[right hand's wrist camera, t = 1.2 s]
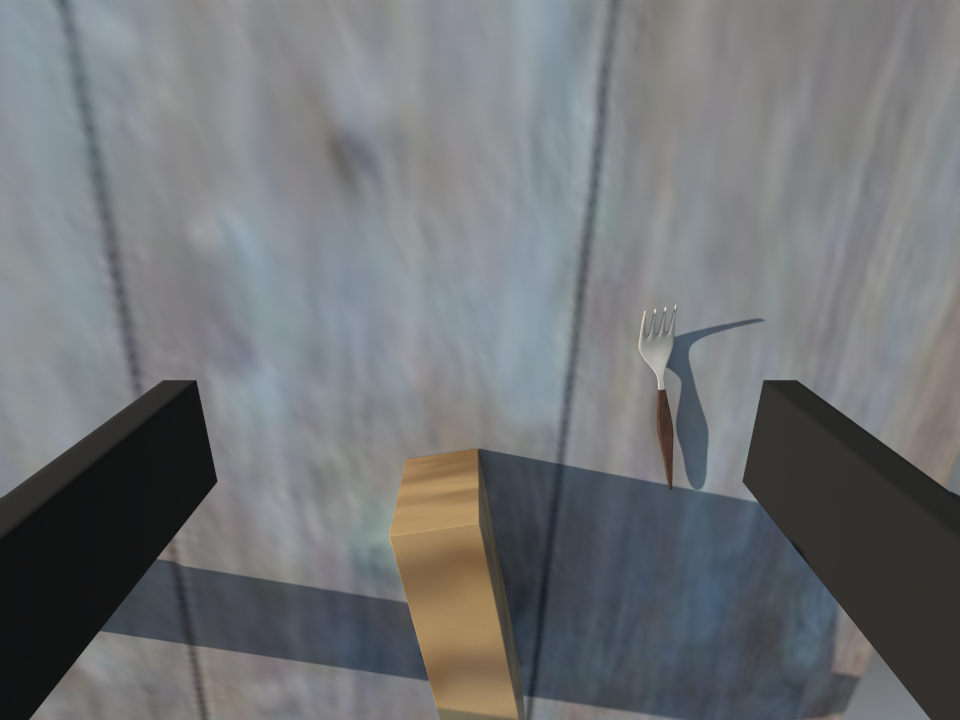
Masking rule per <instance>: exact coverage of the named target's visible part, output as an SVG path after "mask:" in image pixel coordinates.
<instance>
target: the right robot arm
mask: <svg viewBox="0 0 960 720" xmlns="http://www.w3.org/2000/svg"><path fill="white" fill-rule="evenodd" d="M216 483H217V477H216V472H215V468H214V463H213V458H212V453H211V448H210V444H209V439H208V434H207V429H206V424H205V419H204V415H203V410H202V405H201V400H200V395H199V391H198V386H197V381H196V380H163V381H162V382H160V383H159V384H158V385H156V386H155V387H153V388H152V389H151V390H149V391H148V392H147V393H145V394H144V395H142V396H141V397H140V398H138V399H137V400H136V401H134V402H133V403H131V404H130V405H129V406H127V407H126V408H125V409H123V410H122V411H120V412H119V413H118V414H116V415H115V416H114V417H112V418H111V419H110V420H108V421H107V422H105V423H104V424H103V425H101V426H100V427H99V428H97V429H96V430H94V431H93V432H92V433H90V434H89V435H88V436H86V437H85V438H83V439H82V440H81V441H79V442H78V443H77V444H75V445H74V446H72V447H71V448H70V449H68V450H67V451H66V452H64V453H63V454H61V455H60V456H59V457H57V458H56V459H55V460H53V461H52V462H50V463H49V464H48V465H46V466H45V467H44V468H42V469H41V470H39V471H38V472H37V473H35V474H34V475H33V476H31V477H30V478H28V479H27V480H26V481H24V482H23V483H22V484H20V485H19V486H18V487H16V488H15V489H13V490H12V491H11V492H9V493H8V494H7V495H5V496H4V497H2V498H0V720H29V719H30V718H31V717H32V715H33V714H34V713H35V712H36V710H37V709H38V708H39V707H40V705H41V704H42V703H43V701H44V700H45V699H46V698H47V696H48V695H49V694H50V693H51V691H52V690H53V689H54V688H55V686H56V685H57V684H58V683H59V681H60V680H61V679H62V677H63V676H64V675H65V674H66V672H67V671H68V670H69V669H70V667H71V666H72V665H73V664H74V662H75V661H76V660H77V659H78V657H79V656H80V655H81V653H82V652H83V651H84V650H85V648H86V647H87V646H88V645H89V643H90V642H91V641H92V640H93V638H94V637H95V636H96V634H97V633H98V632H99V631H100V629H101V628H102V627H103V626H104V624H105V623H106V622H107V621H108V619H109V618H110V617H111V616H112V614H113V613H114V612H115V610H116V609H117V608H118V607H119V605H120V604H121V603H122V602H123V600H124V599H125V598H126V597H127V595H128V594H129V593H130V592H131V590H132V589H133V588H134V586H135V585H136V584H137V583H138V581H139V580H140V579H141V578H142V576H143V575H144V574H145V573H146V571H147V570H148V569H149V567H150V566H151V565H152V564H153V562H154V561H155V560H156V559H157V557H158V556H159V555H160V554H161V552H162V551H163V550H164V549H165V547H166V546H167V545H168V543H169V542H170V541H171V540H172V538H173V537H174V536H175V535H176V533H177V532H178V531H179V530H180V528H181V527H182V526H183V525H184V523H185V522H186V521H187V519H188V518H189V517H190V516H191V514H192V513H193V512H194V511H195V509H196V508H197V507H198V506H199V504H200V503H201V502H202V500H203V499H204V498H205V497H206V495H207V494H208V493H209V492H210V490H211V489H212V488H213V487H214V485H215V484H216ZM743 483H744V484H745V485H746V487H747V488H748V489H749V490H750V492H751V493H752V494H753V495H754V497H755V498H756V499H757V500H758V502H759V503H760V504H761V506H762V507H763V508H764V509H765V511H766V512H767V513H768V514H769V516H770V517H771V518H772V519H773V521H774V522H775V523H776V525H777V526H778V527H779V528H780V530H781V531H782V532H783V533H784V535H785V536H786V537H787V538H788V540H789V541H790V542H791V543H792V545H793V546H794V547H795V549H796V550H797V551H798V552H799V554H800V555H801V556H802V557H803V559H804V560H805V561H806V562H807V564H808V565H809V566H810V567H811V569H812V570H813V571H814V573H815V574H816V575H817V576H818V578H819V579H820V580H821V581H822V583H823V584H824V585H825V586H826V588H827V589H828V590H829V592H830V593H831V594H832V595H833V597H834V598H835V599H836V600H837V602H838V603H839V604H840V605H841V607H842V608H843V609H844V610H845V612H846V613H847V614H848V616H849V617H850V618H851V619H852V621H853V622H854V623H855V624H856V626H857V627H858V628H859V629H860V631H861V632H862V633H863V634H864V636H865V637H866V638H867V640H868V641H869V642H870V643H871V645H872V646H873V647H874V648H875V650H876V651H877V652H878V653H879V655H880V656H881V657H882V658H883V660H884V661H885V662H886V664H887V665H888V666H889V667H890V669H891V670H892V671H893V672H894V674H895V675H896V676H897V677H898V679H899V680H900V681H901V683H902V684H903V685H904V686H905V688H906V689H907V690H908V691H909V693H910V694H911V695H912V696H913V698H914V699H915V700H916V701H917V703H918V704H919V705H920V706H921V708H922V709H923V710H924V712H925V713H926V714H927V715H928V717H929V718H930V719H931V720H960V496H959V495H957V494H955V493H953V492H949V491H948V490H947V489H945V488H944V487H942V486H941V485H940V484H938V483H937V482H936V481H934V480H933V479H932V478H930V477H929V476H927V475H926V474H925V473H923V472H922V471H921V470H919V469H918V468H916V467H915V466H914V465H912V464H911V463H910V462H908V461H907V460H905V459H904V458H903V457H901V456H900V455H899V454H897V453H896V452H894V451H893V450H892V449H890V448H889V447H888V446H886V445H885V444H883V443H882V442H881V441H879V440H878V439H877V438H875V437H874V436H872V435H871V434H870V433H868V432H867V431H866V430H864V429H863V428H861V427H860V426H859V425H857V424H856V423H855V422H853V421H852V420H850V419H849V418H848V417H846V416H845V415H844V414H842V413H841V412H840V411H838V410H837V409H835V408H834V407H833V406H831V405H830V404H829V403H827V402H826V401H824V400H823V399H822V398H820V397H819V396H818V395H816V394H815V393H813V392H812V391H811V390H809V389H808V388H807V387H805V386H804V385H802V384H801V383H800V382H798V381H797V380H764V381H763V386H762V391H761V395H760V400H759V405H758V410H757V415H756V419H755V424H754V429H753V434H752V439H751V444H750V448H749V453H748V458H747V463H746V468H745V472H744V477H743Z"/></svg>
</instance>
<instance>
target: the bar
mask: <svg viewBox="0 0 960 720" xmlns="http://www.w3.org/2000/svg"><path fill="white" fill-rule="evenodd" d="M389 537H390V541H391V544H392V548H393V551H394V555H395V559H396V562H397V566H398V569H399V573H400V577H401V580H402V584H403V587H404V591H405V595H406V598H407V602H408V605H409V609H410V613H411V616H412V620H413V623H414V627H415V631H416V634H417V638H418V641H419V645H420V649H421V652H422V656H423V660H424V663H425V667H426V670H427V674H428V678H429V681H430V685H431V688H432V692H433V696H434V699H435V703H436V706H437V710H438V714H439V717H440V720H525V711H524V700H523V689H522V679H521V668H520V663H519V658H518V653H517V647H516V642H515V637H514V632H513V627H512V621H511V616H510V611H509V606H508V601H507V596H506V590H505V585H504V580H503V575H502V570H501V564H500V559H499V554H498V549H497V544H496V538H495V533H494V528H493V523H492V518H491V512H490V507H489V502H488V497H487V492H486V486H485V481H484V476H483V471H482V466H481V460H480V455H479V450H478V449H472V450H466V451H459V452H453V453H446V454H439V455H433V456H426V457H420V458H413V459H407V460H406V463H405V467H404V472H403V476H402V481H401V486H400V490H399V495H398V499H397V504H396V508H395V513H394V517H393V522H392V526H391V531H390V536H389Z"/></svg>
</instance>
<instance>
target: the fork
mask: <svg viewBox="0 0 960 720" xmlns="http://www.w3.org/2000/svg"><path fill="white" fill-rule="evenodd" d="M666 309H667V308H666V307H665V310H664V313H663V317H662V321H661V326H660V330H659V333H658V334H655V320H656V309H655V311H654V315H653V319H652V323H651V328H650V333H649V335H648V336H646V335H645V322H646V311H644V316H643V321H642V326H641V332H640V338H639V350H640V353H641V355H642V357H643V358H644V360H645V361H646V362H647V363H648V364H649V366H650V367H651V368H652V369H653V370H654V372H655V373H656V375H657V378H658V404H657V429H658V436H659V441H660V446H661V450H662V454H663V459H664V464H665V470H666V475H667V481H668V486H669V489H670V490H671V489H672V461H673V425H672V419H671V414H670V410H669V405H668V400H667V396H666V391H665V386H664V371H665V368H666V365H667V363H668V360H669V358H670V355H671V352H672V349H673V345H674V326H675V317H676V309H677V305H675V308H674V312H673V315H672V319H671V323H670V327H669V331H668V332H665V318H666Z"/></svg>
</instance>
